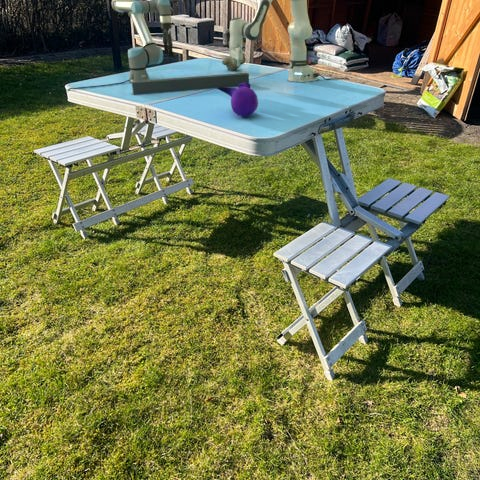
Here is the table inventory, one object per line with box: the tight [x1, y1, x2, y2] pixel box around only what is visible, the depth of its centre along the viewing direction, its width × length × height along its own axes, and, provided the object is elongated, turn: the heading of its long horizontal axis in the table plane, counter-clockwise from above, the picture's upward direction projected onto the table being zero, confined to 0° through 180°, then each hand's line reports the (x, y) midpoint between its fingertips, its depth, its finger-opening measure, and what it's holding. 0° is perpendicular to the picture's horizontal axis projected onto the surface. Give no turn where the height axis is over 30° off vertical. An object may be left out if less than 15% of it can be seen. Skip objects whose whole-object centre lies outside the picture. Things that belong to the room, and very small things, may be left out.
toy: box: [216, 82, 259, 118], centre depth 249 cm, size 16×18×27 cm
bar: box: [130, 72, 250, 96], centre depth 310 cm, size 81×6×8 cm, turn 107°
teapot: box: [221, 52, 246, 72], centre depth 367 cm, size 21×12×15 cm, turn 120°
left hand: (168, 55), depth 320 cm, fingers open, 13 cm apart
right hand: (236, 65), depth 313 cm, fingers open, 8 cm apart
